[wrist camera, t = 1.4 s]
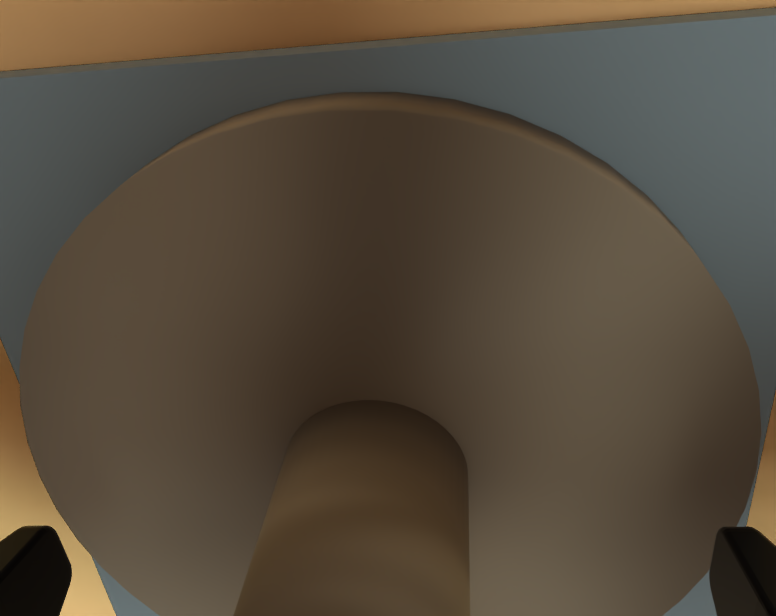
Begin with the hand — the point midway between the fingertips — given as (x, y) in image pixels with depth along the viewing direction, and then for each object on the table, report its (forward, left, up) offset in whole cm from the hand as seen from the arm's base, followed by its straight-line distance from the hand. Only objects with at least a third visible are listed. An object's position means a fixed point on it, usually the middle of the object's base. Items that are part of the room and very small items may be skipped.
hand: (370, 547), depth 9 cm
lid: (0, 0, -2) cm, 2 cm away
